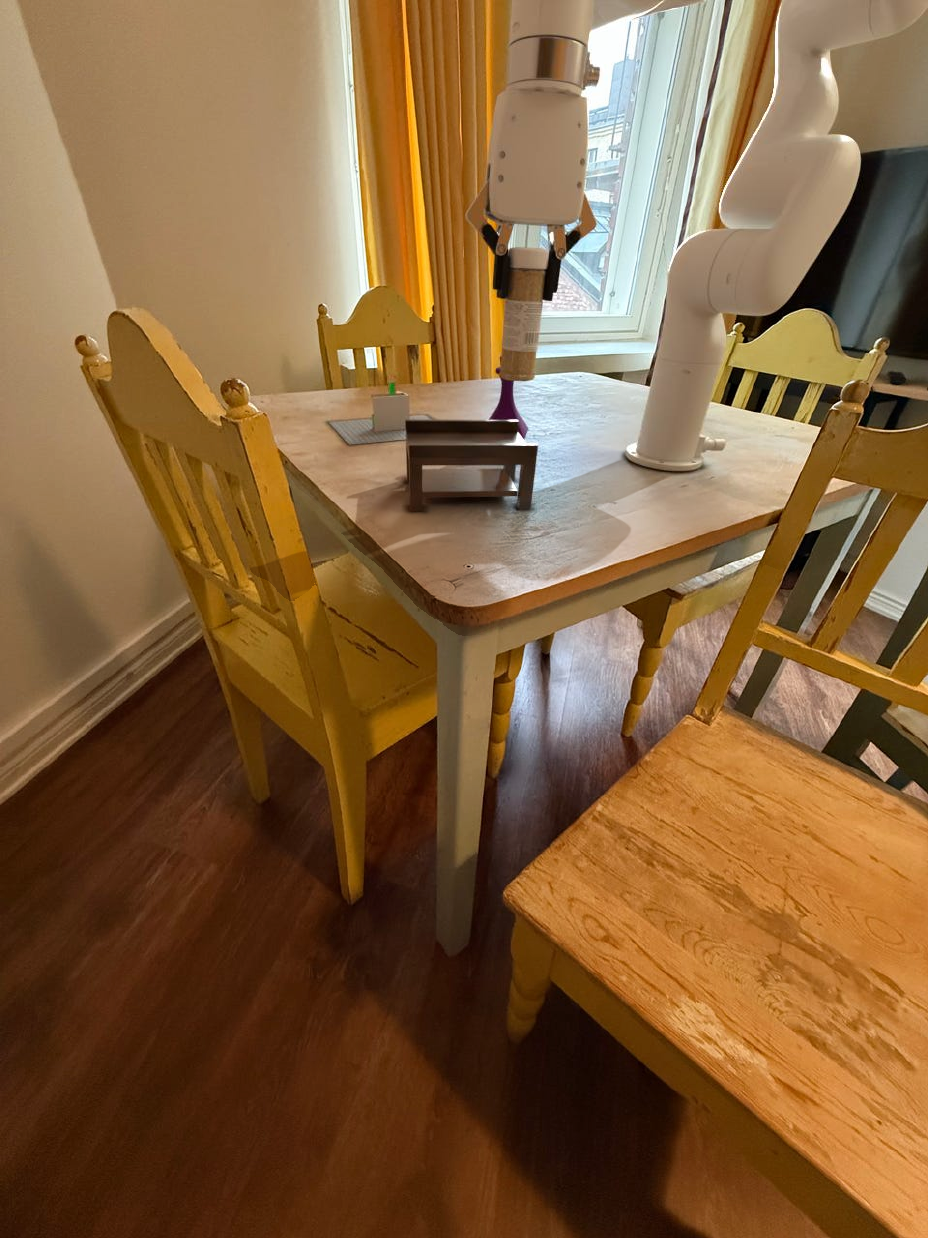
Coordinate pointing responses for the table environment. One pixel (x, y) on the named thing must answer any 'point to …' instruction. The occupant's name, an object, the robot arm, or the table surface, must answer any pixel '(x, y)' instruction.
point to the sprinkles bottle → (523, 312)
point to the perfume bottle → (508, 405)
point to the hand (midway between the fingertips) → (524, 297)
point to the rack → (468, 460)
